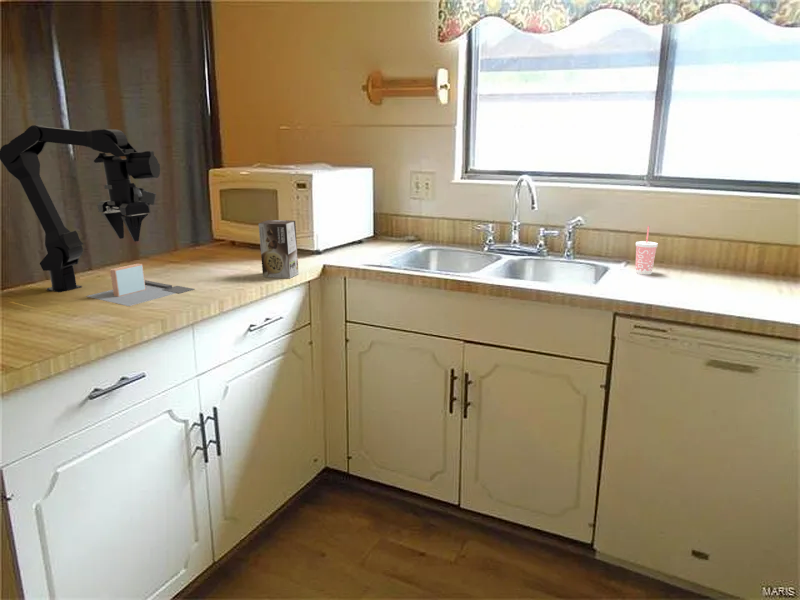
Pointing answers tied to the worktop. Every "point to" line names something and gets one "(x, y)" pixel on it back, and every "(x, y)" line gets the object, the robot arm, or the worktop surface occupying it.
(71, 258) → the robot arm
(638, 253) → the beverage cup
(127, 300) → the mat
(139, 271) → the tile
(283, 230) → the coffee box
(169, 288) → the turner
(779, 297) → the worktop surface
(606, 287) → the worktop surface
